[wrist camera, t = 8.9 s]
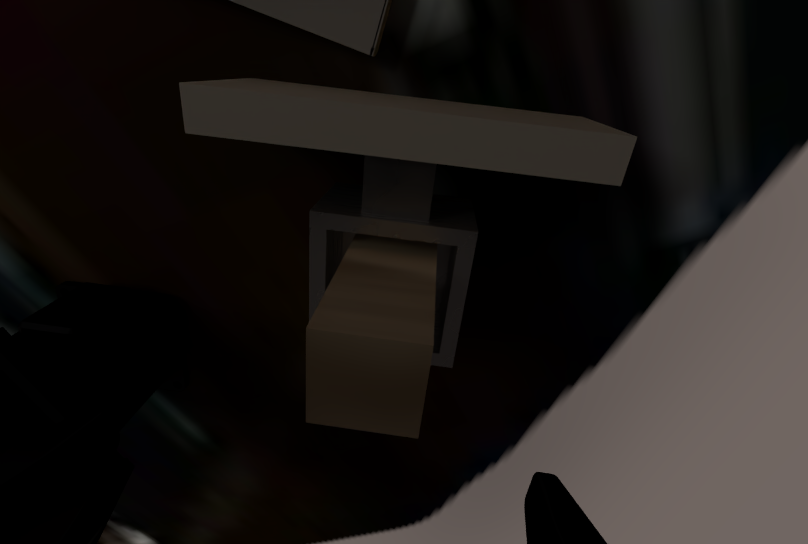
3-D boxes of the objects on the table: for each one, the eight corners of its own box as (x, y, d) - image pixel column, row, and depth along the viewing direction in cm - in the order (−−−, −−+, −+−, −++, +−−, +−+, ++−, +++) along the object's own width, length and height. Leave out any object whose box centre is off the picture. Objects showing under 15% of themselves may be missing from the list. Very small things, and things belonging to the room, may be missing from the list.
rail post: (427, 298, 19) (418, 438, 12) (357, 289, 19) (305, 422, 12) (437, 231, 18) (433, 345, 10) (361, 222, 18) (306, 328, 11)
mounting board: (572, 153, 18) (620, 185, 13) (253, 115, 19) (185, 133, 14) (583, 116, 18) (637, 137, 13) (251, 78, 18) (179, 82, 13)
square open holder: (450, 315, 20) (452, 367, 17) (332, 299, 21) (309, 348, 17) (480, 148, 17) (490, 170, 13) (337, 131, 17) (309, 148, 14)
